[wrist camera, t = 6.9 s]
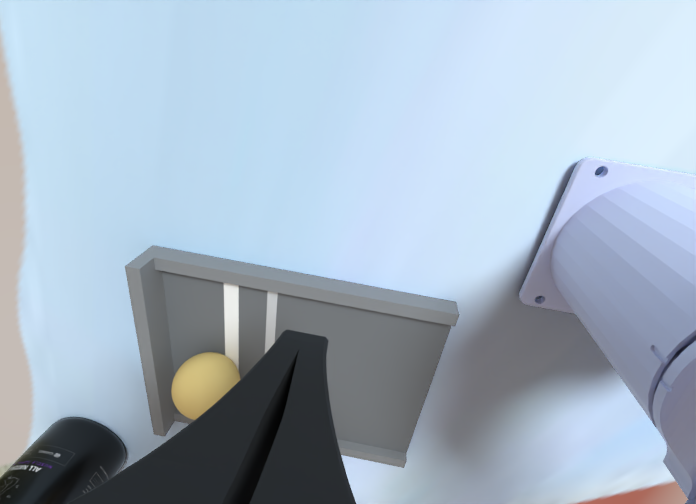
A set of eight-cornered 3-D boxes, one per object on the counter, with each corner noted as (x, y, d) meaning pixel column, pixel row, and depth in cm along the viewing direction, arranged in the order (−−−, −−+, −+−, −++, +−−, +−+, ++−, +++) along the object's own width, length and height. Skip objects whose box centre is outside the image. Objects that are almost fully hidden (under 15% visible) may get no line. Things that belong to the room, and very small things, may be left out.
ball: (147, 375, 21) (204, 329, 23) (170, 407, 24) (219, 362, 26) (190, 415, 19) (247, 361, 22) (209, 445, 22) (258, 394, 24)
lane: (455, 302, 21) (463, 330, 19) (403, 452, 27) (404, 486, 25) (152, 245, 22) (124, 266, 19) (172, 405, 28) (153, 434, 26)
